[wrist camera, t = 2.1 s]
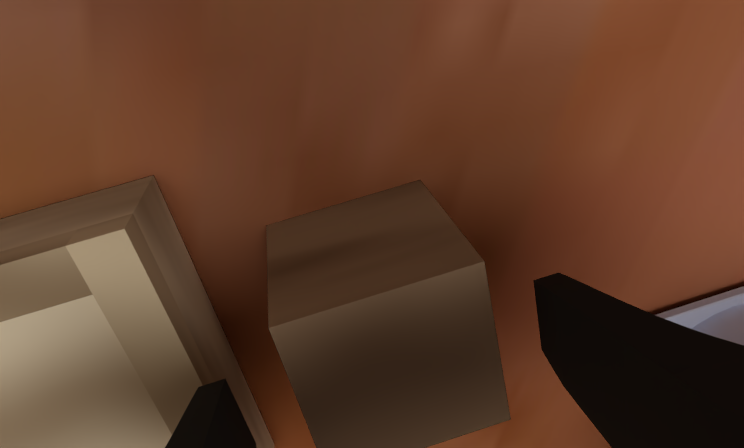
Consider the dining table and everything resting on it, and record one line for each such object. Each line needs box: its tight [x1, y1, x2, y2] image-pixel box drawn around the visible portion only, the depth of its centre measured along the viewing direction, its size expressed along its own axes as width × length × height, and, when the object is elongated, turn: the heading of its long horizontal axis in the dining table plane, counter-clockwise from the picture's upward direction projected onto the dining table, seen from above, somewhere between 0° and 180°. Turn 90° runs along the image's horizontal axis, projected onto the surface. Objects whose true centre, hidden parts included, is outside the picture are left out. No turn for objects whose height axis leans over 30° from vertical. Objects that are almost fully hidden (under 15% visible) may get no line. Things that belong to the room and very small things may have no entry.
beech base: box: [0, 175, 274, 448], centre depth 14 cm, size 10×10×3 cm
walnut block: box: [266, 180, 511, 448], centre depth 14 cm, size 4×4×5 cm
